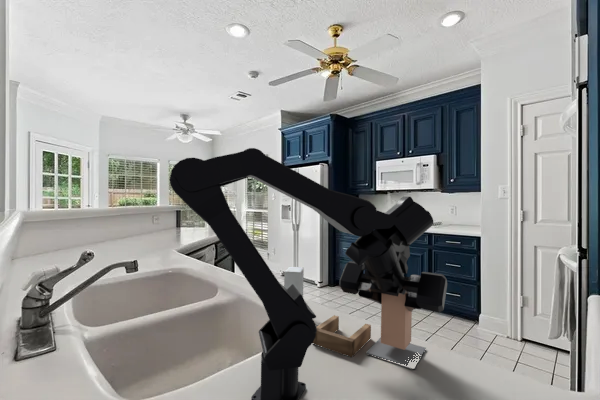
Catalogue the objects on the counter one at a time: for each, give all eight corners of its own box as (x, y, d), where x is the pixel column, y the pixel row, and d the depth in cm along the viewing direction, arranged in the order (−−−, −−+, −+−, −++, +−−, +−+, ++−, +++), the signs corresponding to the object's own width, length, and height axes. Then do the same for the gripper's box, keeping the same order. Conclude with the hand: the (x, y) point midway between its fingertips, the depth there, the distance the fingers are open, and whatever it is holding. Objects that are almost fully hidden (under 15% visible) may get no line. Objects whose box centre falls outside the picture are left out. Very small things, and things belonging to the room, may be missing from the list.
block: (404, 350, 55) (405, 285, 55) (380, 342, 58) (381, 281, 58) (411, 340, 59) (412, 280, 59) (388, 334, 62) (389, 277, 62)
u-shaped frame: (351, 357, 56) (352, 341, 56) (312, 343, 62) (312, 329, 62) (370, 338, 64) (370, 324, 64) (334, 328, 69) (334, 315, 69)
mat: (414, 370, 52) (414, 367, 52) (366, 354, 57) (366, 352, 57) (425, 349, 60) (425, 347, 60) (382, 337, 65) (382, 335, 65)
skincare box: (299, 320, 73) (300, 272, 74) (283, 319, 74) (283, 271, 74) (303, 311, 79) (304, 267, 80) (287, 310, 80) (288, 266, 80)
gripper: (446, 228, 50) (455, 280, 59) (346, 222, 61) (366, 267, 70) (436, 285, 44) (447, 333, 53) (326, 267, 54) (351, 309, 63)
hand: (398, 306), depth 60 cm, fingers closed on block, 5 cm apart
